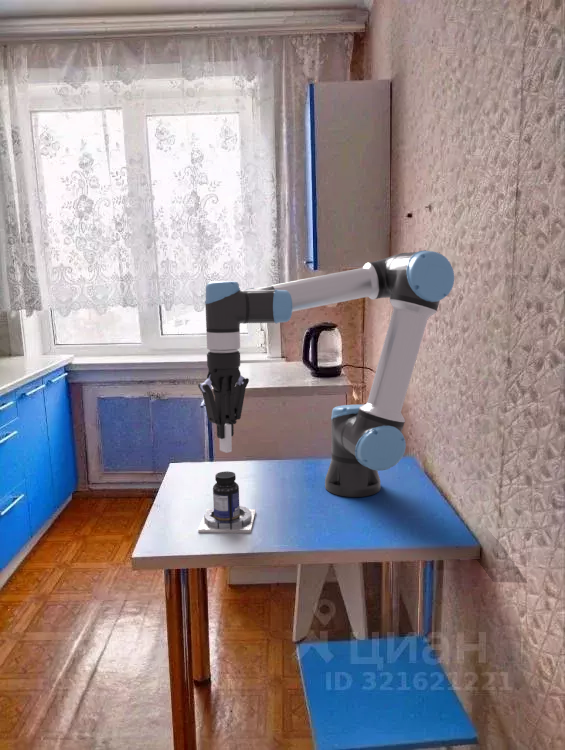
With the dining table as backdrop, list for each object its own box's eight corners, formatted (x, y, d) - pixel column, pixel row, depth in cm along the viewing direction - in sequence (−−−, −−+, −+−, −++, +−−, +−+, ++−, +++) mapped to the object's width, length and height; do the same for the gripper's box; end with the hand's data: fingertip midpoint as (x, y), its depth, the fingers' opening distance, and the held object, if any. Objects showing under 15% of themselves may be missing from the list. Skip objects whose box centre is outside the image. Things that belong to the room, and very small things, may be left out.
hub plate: (255, 512, 147) (255, 504, 146) (250, 533, 135) (250, 524, 135) (207, 511, 147) (207, 504, 147) (198, 532, 136) (197, 524, 135)
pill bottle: (233, 511, 145) (232, 468, 143) (244, 520, 140) (242, 476, 138) (210, 516, 142) (208, 472, 140) (219, 526, 137) (218, 480, 135)
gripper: (236, 346, 141) (237, 442, 145) (189, 351, 133) (193, 453, 137) (256, 349, 136) (257, 448, 140) (209, 354, 127) (212, 460, 131)
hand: (225, 450), depth 138 cm, fingers closed
